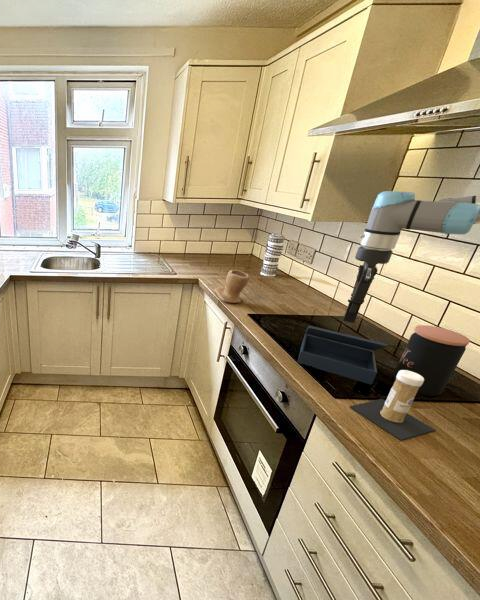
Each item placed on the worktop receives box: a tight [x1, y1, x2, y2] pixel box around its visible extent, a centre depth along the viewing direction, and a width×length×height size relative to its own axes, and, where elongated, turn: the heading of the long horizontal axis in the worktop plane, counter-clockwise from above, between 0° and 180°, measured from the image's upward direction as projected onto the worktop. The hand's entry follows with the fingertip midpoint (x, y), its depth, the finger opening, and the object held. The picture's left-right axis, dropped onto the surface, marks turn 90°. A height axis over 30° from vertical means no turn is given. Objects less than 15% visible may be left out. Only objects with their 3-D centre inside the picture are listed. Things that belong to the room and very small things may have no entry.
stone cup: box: [214, 269, 250, 304], centre depth 156 cm, size 15×12×15 cm
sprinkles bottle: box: [380, 370, 424, 423], centre depth 80 cm, size 5×5×13 cm
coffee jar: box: [392, 324, 471, 397], centre depth 92 cm, size 11×11×18 cm
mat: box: [349, 398, 436, 442], centre depth 82 cm, size 12×12×1 cm
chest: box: [297, 333, 378, 386], centre depth 106 cm, size 15×19×5 cm
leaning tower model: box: [260, 233, 286, 277], centre depth 193 cm, size 9×9×25 cm
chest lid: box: [304, 325, 389, 352], centre depth 104 cm, size 16×19×1 cm
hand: (348, 321), depth 100 cm, fingers closed
